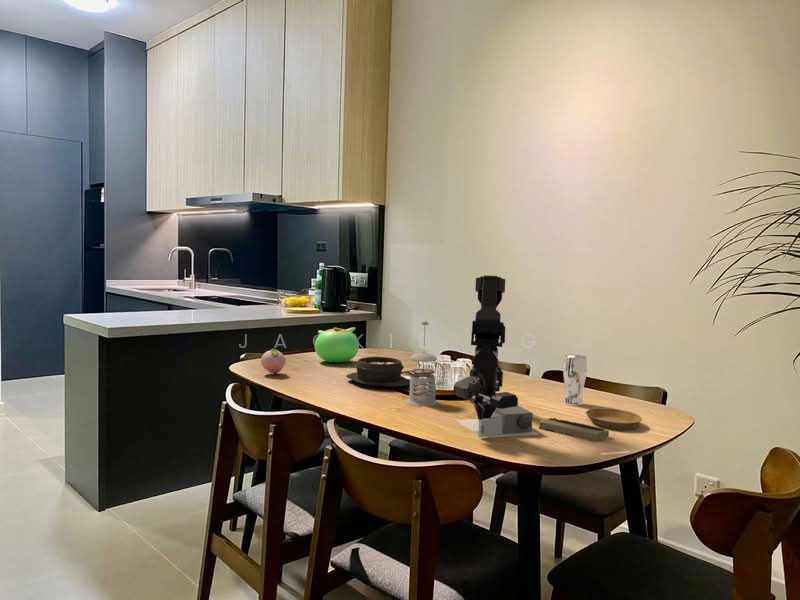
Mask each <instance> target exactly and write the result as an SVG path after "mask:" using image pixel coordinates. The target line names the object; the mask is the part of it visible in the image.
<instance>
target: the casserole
mask: <svg viewBox="0 0 800 600" xmlns="http://www.w3.org/2000/svg"><path fill="white" fill-rule="evenodd" d="M402 363H403V362H402V361H401V360H400V359H399V358H398V359H397V358H394V357H387V356H369V357H368V356H367V357H362V358H359V359H358V360H357V362H356V364H355V365H354V368H355V369H356V372H352V373H351V372H350V373H348V374H347V375H345V378H347V379H350V380H353V381H354V382H356V383H359V384H361V385H364V386H366V387H370V388H389V387H395V388H397V387H404V385H405V386H408V385H409V386H410V378H406V377H404V376H402V371H403V370H404V365H403V364H402Z"/></svg>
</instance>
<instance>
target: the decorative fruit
mask: <svg viewBox="0 0 800 600" xmlns="http://www.w3.org/2000/svg"><path fill="white" fill-rule="evenodd" d="M260 361H261V365H262V366H261V367H262V368H263V369H264V370H266V371H267V372H268V373H271V374H272V373H276V374H278V373H280V372H281V371H282V370H283V368H284V367H285V364H286V357H285V355H284V354H283V353H282V352H280V351H279V350H278V349H276V348H275V347H273V348H271V349H270V350H267V351H265V352H264V353H263V354H262V356H261V359H260Z"/></svg>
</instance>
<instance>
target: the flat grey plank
mask: <svg viewBox="0 0 800 600" xmlns="http://www.w3.org/2000/svg"><path fill="white" fill-rule="evenodd" d="M538 426H539V427H538V430H542V431H550V432H554V433H556V434H560V435H564V436H569V437H574V438H578V439H583V440H587V441H591V442H596V443H598V442H600V441H602V440H604V439H608V438H609V434H610V431H609V429H604V428H601V427H597V426H592V425H588V424H584V423H579V422H575V421H569V420H565V419H558V418H556V417H550V418H549V417H548V418H543V419H540V420H539V425H538ZM607 437H608V438H607Z"/></svg>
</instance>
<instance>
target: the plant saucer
mask: <svg viewBox="0 0 800 600" xmlns="http://www.w3.org/2000/svg"><path fill="white" fill-rule="evenodd" d="M585 414H586V417H588V419H589V420H590V421H591V422H592V424H594V425H597V426H598V427H602V426H603V427H602V428H606V427H607V428H606V429H612V428H613V429H614V430H631V429H633V428H635V427H637V426H638V425H639V424H640V423H641V422H642V421H643V418H642V417H641V416H640V415H638V414H636V413H633V412H631V411H627V410H622V409H615V408H606V407H605V408H599V407H598V408H597V407H596V408H591V409H587V410H586V411H585ZM630 428H631V429H630Z"/></svg>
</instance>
